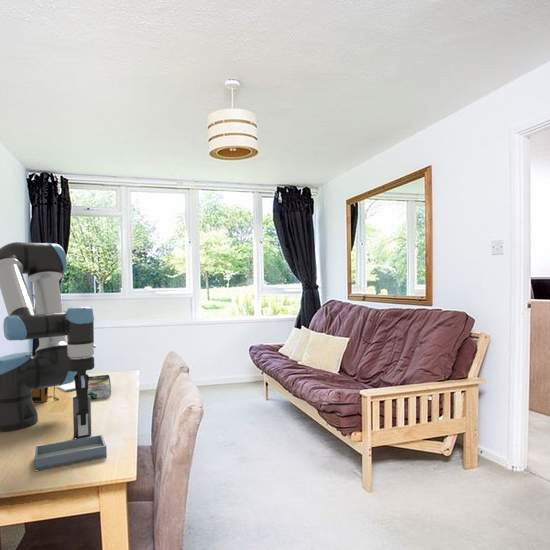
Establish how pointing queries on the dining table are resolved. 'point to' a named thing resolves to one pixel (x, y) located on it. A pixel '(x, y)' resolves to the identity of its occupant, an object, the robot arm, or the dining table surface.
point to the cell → (75, 417)
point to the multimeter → (41, 394)
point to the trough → (69, 452)
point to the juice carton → (99, 386)
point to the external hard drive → (67, 387)
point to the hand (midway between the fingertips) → (82, 432)
